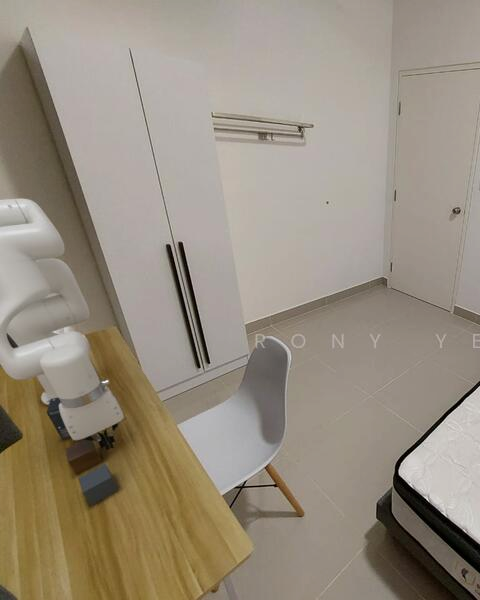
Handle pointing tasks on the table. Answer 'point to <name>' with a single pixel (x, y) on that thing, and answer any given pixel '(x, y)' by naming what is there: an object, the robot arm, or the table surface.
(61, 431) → the box
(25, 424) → the table surface
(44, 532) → the table surface
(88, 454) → the walnut block
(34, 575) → the table surface
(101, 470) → the slate block
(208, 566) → the table surface
